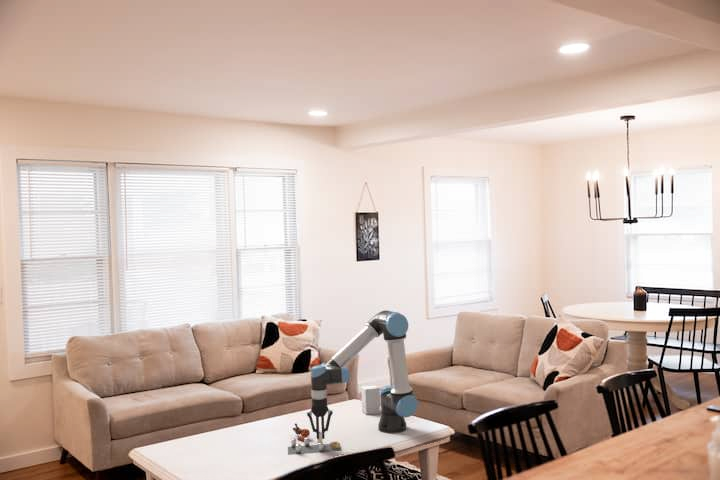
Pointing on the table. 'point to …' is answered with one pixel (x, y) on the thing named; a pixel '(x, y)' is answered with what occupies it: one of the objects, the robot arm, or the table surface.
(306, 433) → the figurine
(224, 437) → the table surface
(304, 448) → the mat
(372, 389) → the supplement box
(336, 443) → the nut
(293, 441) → the spacer field
